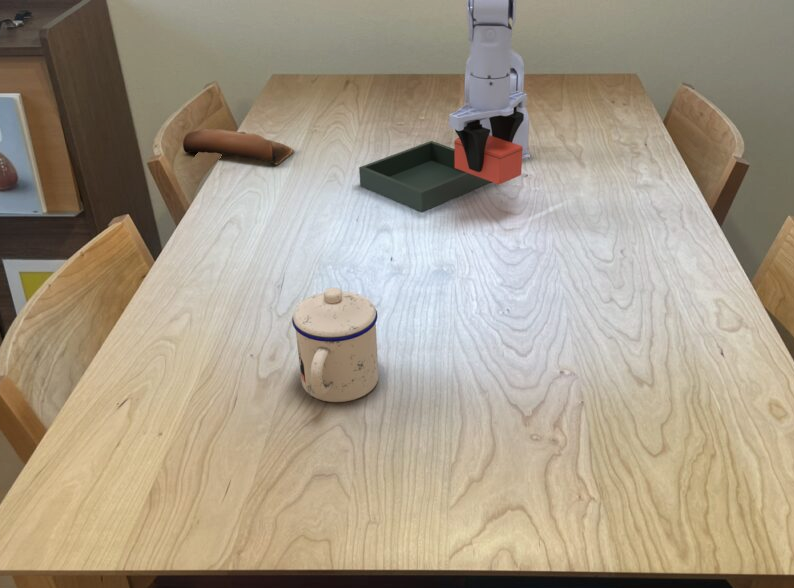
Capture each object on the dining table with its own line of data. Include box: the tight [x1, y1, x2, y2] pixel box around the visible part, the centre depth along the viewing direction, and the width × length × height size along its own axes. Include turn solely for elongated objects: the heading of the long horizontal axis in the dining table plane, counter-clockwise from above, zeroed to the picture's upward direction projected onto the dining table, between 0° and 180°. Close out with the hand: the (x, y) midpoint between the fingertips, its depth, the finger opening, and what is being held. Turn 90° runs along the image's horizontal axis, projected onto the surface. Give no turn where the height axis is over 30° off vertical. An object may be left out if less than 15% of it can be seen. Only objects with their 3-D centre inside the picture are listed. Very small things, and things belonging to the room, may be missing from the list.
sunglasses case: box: [182, 128, 294, 166], centre depth 155 cm, size 18×7×7 cm
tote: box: [358, 140, 493, 213], centre depth 143 cm, size 16×14×4 cm
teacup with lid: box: [291, 287, 380, 403], centre depth 95 cm, size 12×9×12 cm
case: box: [453, 135, 523, 185], centre depth 130 cm, size 5×9×4 cm, turn 46°
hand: (487, 164), depth 131 cm, fingers closed on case, 5 cm apart
